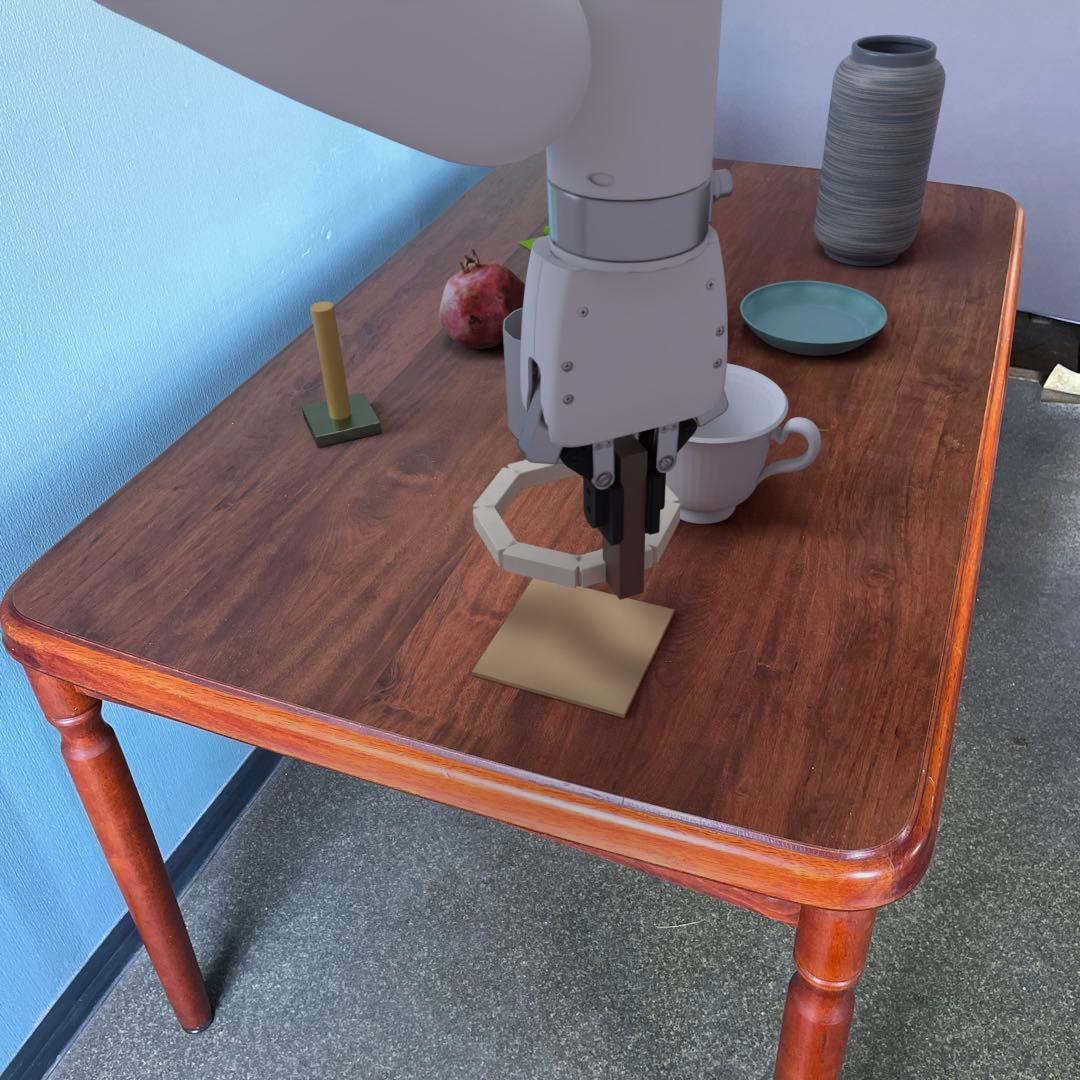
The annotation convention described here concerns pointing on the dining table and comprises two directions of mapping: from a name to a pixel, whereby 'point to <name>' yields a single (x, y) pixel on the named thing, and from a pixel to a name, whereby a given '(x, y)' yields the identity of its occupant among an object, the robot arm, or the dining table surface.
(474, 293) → the fruit
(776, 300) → the saucer
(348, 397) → the stand
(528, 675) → the cork pad
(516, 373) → the cup
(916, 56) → the vase
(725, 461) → the teacup
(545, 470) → the ring
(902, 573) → the dining table surface
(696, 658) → the dining table surface
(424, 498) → the dining table surface
